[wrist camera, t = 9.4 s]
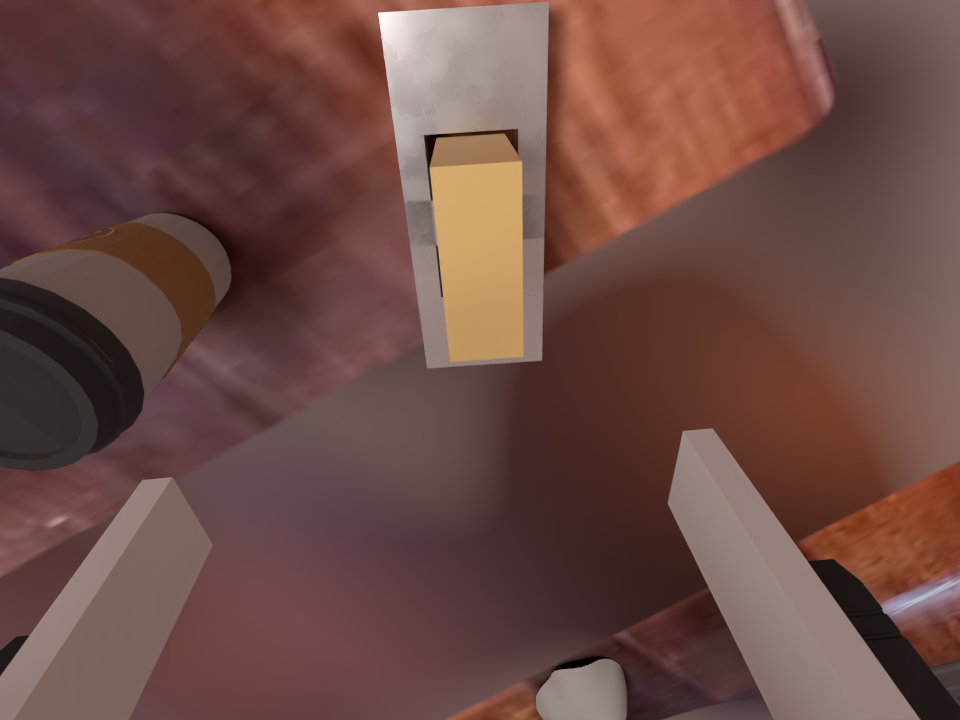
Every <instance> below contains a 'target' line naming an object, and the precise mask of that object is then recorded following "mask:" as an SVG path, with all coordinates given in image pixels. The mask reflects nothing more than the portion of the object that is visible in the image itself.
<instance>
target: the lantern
mask: <svg viewBox="0 0 960 720" xmlns="http://www.w3.org/2000/svg"><path fill="white" fill-rule="evenodd" d="M930 669H931V671H932V672H933V673H934V675H935V676H936V677H937V678H938V680H939V681H940V682H941V683H942V685H943V686H944V687H945V689H946V690H947V691H948V692H949V694H950V695H951V696H952V697H953V699H954V700H955V701H956V702H957V704H958V705H959V706H960V661H957V662H953V663H949V664H944V665H940V666H936V667H932V668H930Z"/></svg>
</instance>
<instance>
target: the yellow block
mask: <svg viewBox="0 0 960 720" xmlns="http://www.w3.org/2000/svg"><path fill="white" fill-rule="evenodd" d="M430 176H431V185H432V195H433V204H434V214H435V223H436V233H437V242H438V252H439V261H440V271H441V280H442V290H443V299H444V309H445V318H446V328H447V337H448V347H449V356H450V362H456V361H471V360H485V359H500V358H514V357H523V221H522V160H521V159H520V157H519V156H518V154H517V152H516V151H515V149H514V148H513V146H512V145H511V143H510V141H509V140H508V138H507V137H506V135H505V134H488V135H473V136H458V137H443V138H437V139H436V143H435V147H434V151H433V155H432V160H431V164H430Z"/></svg>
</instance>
